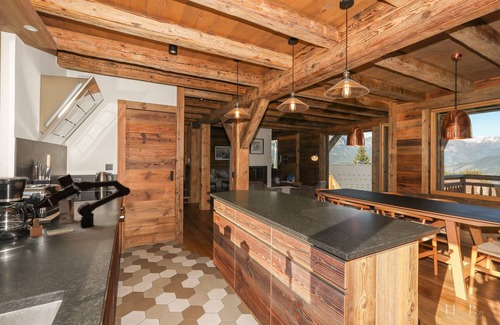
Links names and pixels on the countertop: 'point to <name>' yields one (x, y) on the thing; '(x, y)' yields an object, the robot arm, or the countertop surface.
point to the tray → (60, 231)
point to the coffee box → (66, 210)
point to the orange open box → (36, 231)
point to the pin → (35, 223)
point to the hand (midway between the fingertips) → (33, 207)
